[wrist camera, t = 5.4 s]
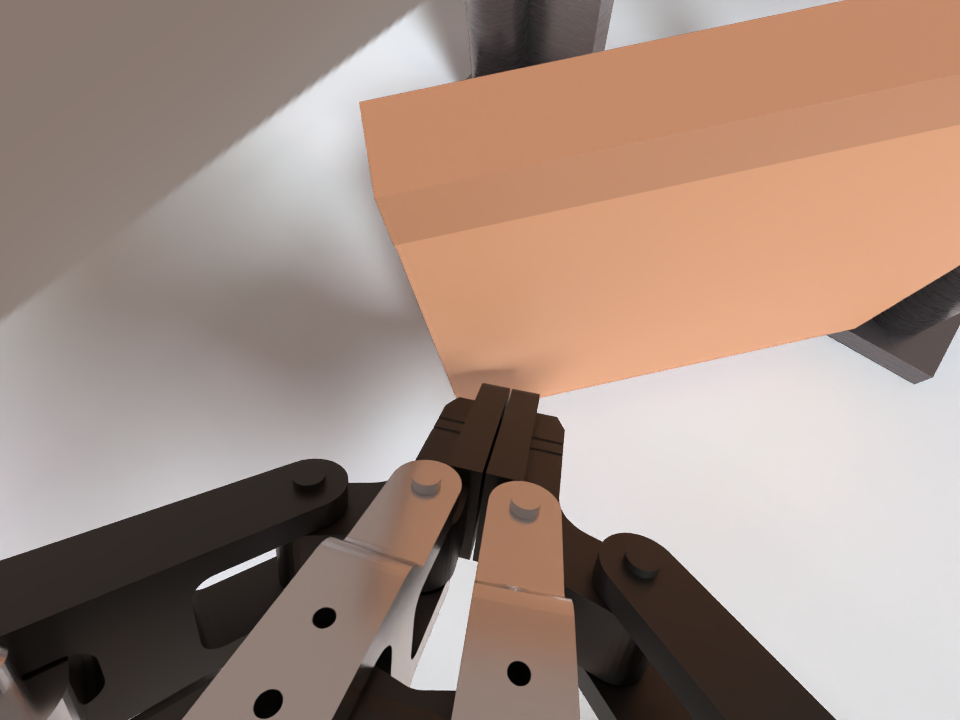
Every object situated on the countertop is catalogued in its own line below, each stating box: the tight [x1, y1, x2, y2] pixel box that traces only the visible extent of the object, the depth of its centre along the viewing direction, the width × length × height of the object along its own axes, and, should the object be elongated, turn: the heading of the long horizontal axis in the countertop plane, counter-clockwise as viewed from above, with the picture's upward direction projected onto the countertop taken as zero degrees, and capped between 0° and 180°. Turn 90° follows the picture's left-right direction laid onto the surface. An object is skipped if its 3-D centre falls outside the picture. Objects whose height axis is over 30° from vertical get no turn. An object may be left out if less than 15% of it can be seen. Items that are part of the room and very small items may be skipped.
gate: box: [359, 0, 960, 400], centre depth 11 cm, size 14×2×11 cm, turn 102°
